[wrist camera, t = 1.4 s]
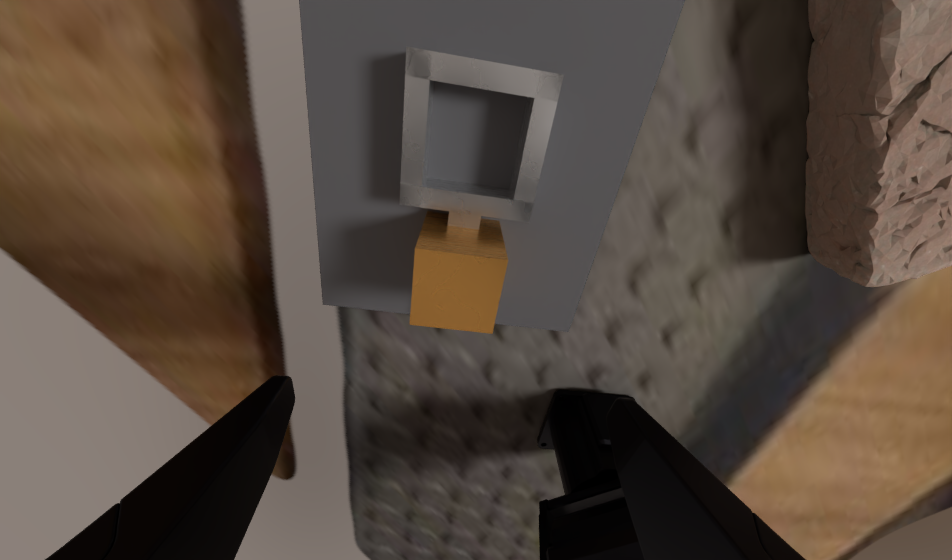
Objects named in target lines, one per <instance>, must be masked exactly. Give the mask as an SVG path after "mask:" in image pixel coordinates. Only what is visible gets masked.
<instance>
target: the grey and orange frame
mask: <svg viewBox="0 0 952 560" xmlns="http://www.w3.org/2000/svg"><path fill="white" fill-rule="evenodd" d="M563 77H564V75H563V74H557V73H551V72H546V71H540V70H535V69H529V68H524V67H518V66H512V65H507V64H501V63H496V62H490V61H485V60H479V59H474V58H468V57H462V56H457V55H451V54H446V53H440V52H435V51H429V50H423V49H418V48H412V47H407V46H406V67H405V90H404V113H403V136H402V159H401V182H400V205H407V206H414V207H421V208H428V209H435V210H443V211H449V214H447V213H440V212H432V211H427V214H426V217H425V220H424V223H423V226H422V229H421V232H420V235H419V238H418V241H417V244H416V247H415V255H414V269H413V283H412V298H411V312H410V325H418V326H427V327H436V328H446V329H455V330H464V331H473V332H482V333H491V334H492V333H493V328H494V324H495V319H496V315H497V310H498V305H499V301H500V296H501V292H502V287H503V282H504V278H505V273H506V269H507V264H508V257H507V252H506V248H505V243H504V239H503V235H502V230H501V226H500V221H497V220H490V219H483V218H481V216H486V217H493V218H500V219H507V220H514V221H521V222H529V221H530V217H531V212H532V208H533V204H534V200H535V195H536V191H537V187H538V183H539V178H540V174H541V170H542V166H543V162H544V157H545V153H546V149H547V145H548V140H549V136H550V132H551V128H552V123H553V119H554V115H555V111H556V107H557V102H558V98H559V94H560V90H561V85H562V81H563ZM434 81H439V82H445V83H450V84H456V85H462V86H468V87H474V88H479V89H485V90H491V91H497V92H503V93H508V94H514V95H520V96H526V97H527V102H526V107H525V112H524V117H523V122H522V127H521V132H520V137H519V142H518V148H517V153H516V158H515V163H514V168H513V173H512V178H511V183H510V188H509V189H504V188H497V187H490V186H483V185H477V184H470V183H463V182H456V181H449V180H443V179H436V178H429V177H426V176H427V164H428V151H429V139H430V126H431V113H432V101H433V88H434Z"/></svg>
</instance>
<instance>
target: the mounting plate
mask: <svg viewBox="0 0 952 560" xmlns="http://www.w3.org/2000/svg"><path fill="white" fill-rule="evenodd" d="M684 2H685V0H299V4H300V17H301V30H302V41H303V42H302V43H303V55H304V68H305V81H306V94H307V106H308V118H309V132H310V145H311V158H312V170H313V183H314V196H315V209H316V222H317V235H318V247H319V260H320V273H321V286H322V297H323V304H324V305H333V306H342V307H350V308H359V309H368V310H377V311H386V312H395V313H404V314H410V312H411V298H412V283H413V269H414V255H415V247H416V244H417V241H418V238H419V235H420V232H421V229H422V226H423V223H424V220H425V217H426V214H427V211H432V212H440V213H447V214H449V211H443V210H435V209H428V208H421V207H414V206H407V205H400V182H401V159H402V136H403V113H404V90H405V67H406V46H407V47H412V48H418V49H423V50H429V51H435V52H440V53H446V54H451V55H457V56H462V57H468V58H474V59H479V60H485V61H490V62H496V63H501V64H507V65H512V66H518V67H524V68H529V69H535V70H540V71H546V72H551V73H557V74H563V75H564V77H563V81H562V85H561V90H560V94H559V98H558V102H557V107H556V111H555V115H554V119H553V123H552V128H551V132H550V136H549V140H548V145H547V149H546V153H545V157H544V162H543V166H542V170H541V174H540V178H539V183H538V187H537V191H536V195H535V200H534V204H533V208H532V212H531V217H530V221H529V222H521V221H514V220H507V219H500V218H493V217H486V216H481V218H483V219H490V220H497V221H500V226H501V230H502V235H503V239H504V243H505V248H506V252H507V257H508V264H507V269H506V273H505V278H504V282H503V287H502V292H501V296H500V301H499V305H498V310H497V315H496V319H495V324H502V325H511V326H520V327H529V328H538V329H547V330H555V331H564V332H569V329H570V326H571V323H572V321H573V318H574V315H575V312H576V309H577V306H578V304H579V301H580V298H581V295H582V292H583V289H584V286H585V284H586V281H587V278H588V275H589V272H590V269H591V267H592V264H593V261H594V258H595V255H596V252H597V249H598V247H599V244H600V241H601V238H602V235H603V232H604V230H605V227H606V224H607V221H608V218H609V215H610V212H611V210H612V207H613V204H614V201H615V198H616V195H617V193H618V190H619V187H620V184H621V181H622V178H623V175H624V173H625V170H626V167H627V164H628V161H629V158H630V156H631V153H632V150H633V147H634V144H635V141H636V138H637V136H638V133H639V130H640V127H641V124H642V121H643V119H644V116H645V113H646V110H647V107H648V104H649V101H650V99H651V96H652V93H653V90H654V87H655V84H656V82H657V79H658V76H659V73H660V70H661V67H662V64H663V62H664V59H665V56H666V53H667V50H668V47H669V45H670V42H671V39H672V36H673V33H674V30H675V28H676V25H677V22H678V19H679V16H680V13H681V10H682V8H683V5H684ZM526 102H527V97H526V96H520V95H514V94H508V93H503V92H497V91H491V90H485V89H479V88H474V87H468V86H462V85H456V84H450V83H445V82H439V81H434V88H433V101H432V113H431V126H430V139H429V151H428V164H427V176H426V177H429V178H436V179H443V180H449V181H456V182H463V183H470V184H477V185H483V186H490V187H497V188H504V189H509V188H510V183H511V178H512V173H513V168H514V163H515V158H516V153H517V148H518V142H519V137H520V132H521V127H522V122H523V117H524V112H525V107H526Z"/></svg>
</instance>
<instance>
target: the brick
mask: <svg viewBox="0 0 952 560" xmlns="http://www.w3.org/2000/svg"><path fill="white" fill-rule="evenodd" d="M808 15H809V28H810V30H811V33H812V37H813V39H814V40H815V41H814V42H813V43H812V46H811V55H810V61H809V67H808V77H807V81H808V85H809V90H808V96H809V102H810V104H809V114H808V117H807V120H806V127H807V148H806V150H807V152H808V155H809V158H808V160H807V162H806V190H805V198H806V201H805V216H806V220H807V232H808V236H807V243H808V250H809V252H810V253H811V255H812V256H813V258H814V259H815V260H816V261H817V262H819V263H821V264H823V265H824V266H825V267H828V268H831V269H833V270H834V271H835V272H837V273H838V274H839V275H840V276H842V277H846V278H850V279H851V280H852V281H854V282H856V283H858V284H861V285H863V286H866V287H878V286H884V285H890V284H893V283H897V282H900V281H904V280H906V279H909V278H911V279H917V278H919V277H921V276H923V275H926V274H929V273H932V272H935V271H938V270H941V269H943V268H946V267H949V266H952V0H808Z"/></svg>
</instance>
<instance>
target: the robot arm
mask: <svg viewBox="0 0 952 560" xmlns="http://www.w3.org/2000/svg"><path fill="white" fill-rule="evenodd" d="M561 396H562V397H561ZM294 403H295V394H294V388H293V383H292V379H291V377H289V376H273V377H271V378H269V379H268V380H267V381H266V382H265V383H263V384H262V385H261V386H260V387H258V388H257V389H256V390H255V391H253V392H252V393H251V394H250V395H249V396H247V397H246V398H245V399H244V400H242V401H241V402H240V403H239V404H238V405H236V406H235V407H234V408H233V409H231V410H230V411H229V412H228V413H227V414H225V415H224V416H223V417H222V418H220V419H219V420H218V421H217V422H216V423H214V424H213V425H212V426H211V427H209V428H208V429H207V430H206V431H205V432H203V433H202V434H201V435H200V436H198V437H197V438H196V439H195V440H194V441H192V442H191V443H190V444H189V445H187V446H186V447H185V448H184V449H182V450H181V451H180V452H179V453H178V454H176V455H175V456H174V457H173V458H172V459H170V460H169V461H168V462H167V463H165V464H164V465H163V466H162V467H160V468H159V469H158V470H157V471H156V472H155V473H153V474H152V475H151V476H150V477H148V478H147V479H146V480H145V481H143V482H142V483H141V484H140V485H138V486H137V487H136V488H135V489H134V490H132V491H131V492H130V493H129V494H128V495H126V496H125V497H124V498H123V499H121V501H120V504H119V503H117V504H115V505H114V506H112V507H111V508H110V509H109V510H108V511H106V512H105V513H104V514H103V515H102V516H100V517H99V518H98V519H97V520H95V521H94V522H93V523H92V524H90V525H89V526H88V527H87V528H85V529H84V530H83V531H82V532H80V533H79V534H78V535H76V536H75V537H74V538H73V539H71V540H70V541H69V542H68V543H66V544H65V545H64V546H63V547H61V548H60V549H59V550H57V551H56V552H55V553H53V554H52V555H51V556H49V557H48V558H47V559H45V560H234V558H235V556H236V554H237V552H238V549H239V547H240V545H241V542H242V540H243V538H244V536H245V533H246V531H247V528H248V526H249V524H250V522H251V520H252V517H253V515H254V513H255V510H256V508H257V505H258V504H259V501H260V499H261V496H262V494H263V492H264V490H265V488H266V485H267V483H268V481H269V478H270V476H271V474H272V471H273V469H274V466H275V464H276V461H277V458H278V455H279V451H280V448H281V445H282V442H283V439H284V436H285V432H286V429H287V426H288V423H289V420H290V417H291V413H292V410H293V407H294ZM537 443H538V447H540V448H544V449H554V450H555V454H556V458H557V463H558V467H559V471H560V475H561V480H562V484H563V488H564V492H565V495H563V496H560V497H557V498H554V499H551V500H547V499H546V500H543V501H540V502H539V508H540V514H539V541H540V560H806V559H804V558H803V557H802V556H801V555H800V554H799V553H798V552H796V551H795V550H794V549H793V548H792V547H791V546H790V545H789V544H787V543H786V542H785V541H784V540H783V539H782V538H781V537H780V536H779V535H778V534H777V533H775V532H774V531H773V530H772V529H771V528H770V527H769V526H768V525H767V524H766V523H765V522H764V521H762V520H761V519H760V518H759V517H758V516H757V515H756V514H755V513H752V511H751V509H750V508H748V507H747V506H746V505H745V504H744V503H743V502H742V501H741V500H740V499H739V498H738V497H737V496H736V495H735V494H733V493H732V492H731V491H730V490H729V489H728V488H727V487H726V486H725V485H724V484H723V483H722V482H721V481H720V480H719V479H717V478H716V477H715V476H714V475H713V474H712V473H711V472H710V471H709V470H708V469H707V468H706V467H705V466H704V465H703V464H701V463H700V462H699V461H698V460H697V459H696V458H695V457H694V456H693V455H692V454H691V453H690V452H689V451H688V450H687V449H685V448H684V447H683V446H682V445H681V444H680V443H679V442H678V441H677V440H676V439H675V438H674V437H673V436H672V435H671V434H669V433H668V432H667V431H666V430H665V429H664V428H663V427H662V426H661V425H660V424H659V423H658V422H657V421H656V420H655V419H653V418H652V417H651V416H650V415H649V414H648V413H647V412H646V411H645V410H644V409H643V408H642V407H641V406H640V405H638V404H637V403H636V401H635V399H634V398H633V397H628V396H618V395H608V394H597V393H587V392H577V391H566V390H559V391H556V392H555V393H554V395H553V398H552V401H551V404H550V406H549V409H548V412H547V415H546V417H545V420H544V423H543V426H542V428H541V431H540V434H539V436H538V439H537Z"/></svg>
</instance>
